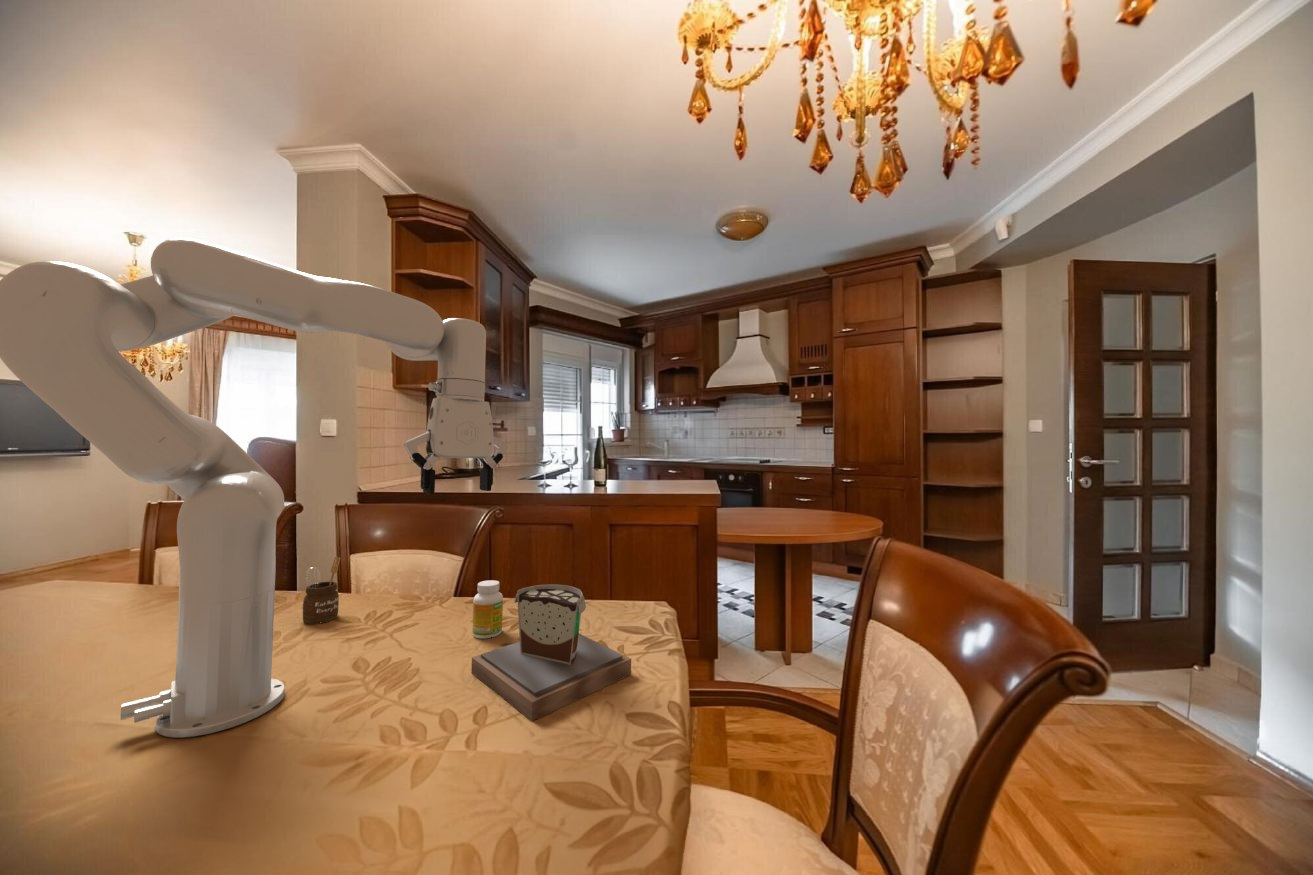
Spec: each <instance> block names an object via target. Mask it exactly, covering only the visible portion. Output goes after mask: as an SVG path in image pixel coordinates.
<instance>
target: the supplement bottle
mask: <svg viewBox="0 0 1313 875" xmlns="http://www.w3.org/2000/svg"><path fill="white" fill-rule="evenodd" d="M499 590H500V581H499V580H493V579H492V580H491V579H490V580H483V581H479V582H478V583H477V590H476V591H477V594H475V596H474V597H473V602H472V604H473V605H472V607H473V608H472V630H471V631H472V636H473V637H475V638H476V639H482V640H483V639H491V637H492V638H495V637H498V636H499V635H500V634H502V632H503V614H504V613H503V609H504V608H503V607H504V605H503V604H504V602H503V601H504V596H503V593H501V592H500V591H499Z"/></svg>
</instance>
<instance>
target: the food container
mask: <svg viewBox="0 0 1313 875" xmlns="http://www.w3.org/2000/svg"><path fill="white" fill-rule="evenodd" d="M516 603H517V613H518V630H519V631H518V632H519V642H520V652H521V654H524V655H528V656H533V657H537V658H542V659H546V660H551V661H555V662H560V663H564V664H569V665H571V664H572V663H573V662H574V661H575V658H576V652H577V643H578V635H579V634H580V633H579V632H580V625H581V624H580V623H581V617H582V614H583V613H584V612H585V610H586V608H587V606H586V600H585V596H584V595H583V592H582V591H581V589H580V588H577V587H574V586H571V585H567V584H566V585H565V584H538V585H531V586H526V587H523V588H520V589H517V591H516V594H515V598H514V604H516Z"/></svg>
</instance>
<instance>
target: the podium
mask: <svg viewBox="0 0 1313 875" xmlns="http://www.w3.org/2000/svg"><path fill="white" fill-rule="evenodd" d="M470 671H471V672H470V673H471V674H472V675H473V676H474V677H475V678H477V679H478V680H479V681H481V682H482V683H483V684H484V685H486V686H487V687H488V688H489V689H491V691H493V692H494V693H495V694H497V695H498V696H499V697H500V698H502V699H503V700H504V701H506V702H507V703H508V704H509V705H511V706H512V707H513V708H515V710H517V711H518V712H519V713H521V714H522V715H523V716H524V717H526V718H527V719H528V720H530V721H531V722H533V721H536V720H537V719H540V718H542V717H544V716H546V715H549V714H550V713H553V712H554V711H557V710H558V709H560V708H563V707H566V706H567V705H570V704H572V703H573V702H576V701H578V700H581V699H582V698H584V697H586V696H587V697H588V695H591V694H593V693H595V692H597V691H599V690H602V689H604V688H605V686H606V687H607V685H608V686H610V685H612V684H614V683H616V682H618V681H620V680H622V679H621V678H623V677H625V676H627V675H629V674H631V675H632V658H630V657H628V656H626V655H625V654H622V653H620V652H619V651H616V650H614V649H611V648H610V647H608V646H605V645H604V644H602V643H600V642H598V641H596V640H593V639H591V638H589V637H588V636H585V635H583V634H581V633H579V635H578V643H577V652H576V658H575V661H574V662H573V663H572V664H571V665H569V664H564V663H560V662H555V661H551V660H546V659H542V658H537V657H533V656H528V655H524V654H521V652H520V641H518V642H515V643H511V644H508V645H504V646H502V647H499V648H495V649H493V650H490V651H486V652H484V653H481V654H478V655H475V656H472V657H471V669H470ZM629 676H630V675H629ZM627 677H628V676H627ZM625 678H626V677H625ZM619 679H620V680H619ZM623 679H624V678H623ZM615 681H616V682H615ZM613 682H614V683H613ZM611 683H612V684H611ZM592 692H593V693H592Z"/></svg>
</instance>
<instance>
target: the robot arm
mask: <svg viewBox="0 0 1313 875" xmlns="http://www.w3.org/2000/svg"><path fill="white" fill-rule="evenodd" d="M150 270H151V275H149V276H145V277H142V278H138V279H135V280H131V281H128V282H124V283H118V282H117V281H115V280H114V279H112V278H110V277H109V276H107V275H105V274H102V273H100V272H99V271H96V270H94V269H92V268H89V267H86V266H83V265H78V264H75V263H70V262H64V261H56V260H55V261H54V260H42V261H35V262H30V263H27V264H23V265H20V266H19V267H17V268H14V269H13V270H11V271H10V272H8V273H7V274H6V275H5V276H3V277H2V278H1V279H0V359H1V361H2V362H3V363H4V365H5V366H6V367H7V368H8V369H9V371H10V372H11V373H12V374H13V375H14V376H15V377H16V378H18V380H19V381H20V382H21V383H22V384H24V386H26V387H27V388H28V389H29V390H31V392H32V393H34V394H35V395H36V396H37V397H38V398H39V399H41V400H42V401H43V402H44V403H45V404H46V405H48V406H49V407H50V408H51V409H52V410H54V412H56V413H57V414H58V415H59V416H60V417H61V418H62V419H63V420H64V421H65V422H66V423H68V425H70V427H72V428H73V430H75V431H76V432H78V433H79V434H80V435H81V436H82V437H84V438H85V439H86V440H87V441H88V442H90V443H91V444H92V445H93V446H94V447H95V448H96V449H97V450H98V451H100V453H102V454H103V455H104V456H106V458H108V460H110V461H111V462H112V463H113V464H114V465H115V466H116V467H117V468H118V469H120V470H121V472H123V473H124V474H125V475H128V477H129V478H132V479H134V480H136V481H139V482H144V483H147V484H153V485H158V484H159V485H166V486H167V487H168V488H170V489H171V490H172V491H173V492H174V493H175V494H177V495H178V496H179V497H180V498H181V499H182V500H184V501H183V502H182V504H181V506H180V508H179V511H178V515H177V521H176V536H177V537H176V538H177V548H178V560H179V563H178V564H179V574H178V575H179V580H178V581H179V584H178V614H177V615H178V616H177V634H176V635H177V636H176V637H177V638H176V660H175V680H172V681H171V687H170V688H167V689H165V690H161V691H159V694H157V695H152V696H148V697H144V698H143V697H142V698H137V699H134V700H130V701H126V702H122V703H121V706H120V708H121V709H120V721H123V720H127V719H130V718H134V720H133V722H134V723H139V722H142V721H145V720H149V719H150V718H151V719H152V718H155V717H156V718H155V719H156V720H155V731H156V733H158V735H161V736H163V737H168V738H173V739H174V738H175V739H176V738H192V737H198V736H205V735H210V734H214V733H218V732H222V731H225V730H228V729H232V728H234V727H237V726H240V725H243V724H245V723H248V722H249V721H251V720H255V719H257V718H258V717H261V716H262V715H264V714H266V713H268V712H269V711H270V710H272V709H273V708H274V707H276V706H277V705H278V704H279V703H280V702H282V700H283V699H284V697H285V694H286V685H285V683H284V682H283V681H281V680H279V679H276V678H272V672H273V671H272V670H273V669H272V668H273V642H274V622H275V621H274V619H275V617H274V616H275V598H276V597H275V592H276V590H275V589H276V565H277V564H276V559H277V558H276V557H277V556H276V549H277V548H276V544H277V543H276V542H277V541H276V540H277V538H276V537H277V535H276V534H277V520H278V518H279V517H280V516H281V514H282V511H283V510H284V505H285V495H284V491H283V489H282V488H281V486H280V484H279V483H278V482H277V481H276V480H275V479H274V477H272V476H271V475H270V474H269V473H268V472H267V471H266V470H265V469H264V468H263V467H262V466H261V465H260V464H259V463H258V462H257V461H255V459H254V458H252V457H251V456H250V455H249V454H248V453H247V452H246V451H245V450H244V449H243V448H242V447H241V446H240V445H239V444H238V443H237V442H236V441H235V440H233V439H232V438H231V437H230V436H229V435H228V433H226V432H225V431H224V430H223V429H221V428H220V427H219V426H217V425H216V424H215V423H213V422H212V421H210V420H208V419H205V418H204V417H200V416H198V415H194V414H189V413H188V412H185V411H184V410H183V409H181V408H180V407H179V406H178V405H176V403H174V402H173V401H172V400H171V399H170V398H169V397H168V396H166V395H165V394H164V393H163V392H162V390H160V389H159V388H157V387H156V386H155V385H154V383H153V382H152V381H151V379H149V378H148V377H147V376H146V375H145V374H144V373H142V371H140V370H139V369H138V368H137V367H136V366H134V365H133V363H132V362H130V361H128V360H127V358H125V357H124V356H123V354H121V353H120V352H128V351H129V352H130V351H131V352H132V351H135V350H141V349H145V348H147V347H151V346H154V345H156V344H160V343H163V342H166V341H169V340H172V339H174V338H178V337H180V336H185V335H186V334H189V333H192V332H195V331H198V330H201V329H202V330H203V329H204V328H207V327H210V326H212V325H216V324H218V323H220V322H222V321H225V320H228V319H230V318H232V317H234V316H237V317H242V318H246V319H250V320H253V321H257V322H261V323H263V324H264V323H265V324H269V325H272V326H275V327H279V328H283V329H286V330H289V331H293V332H297V333H298V332H299V333H306V334H316V333H324V332H326V333H327V332H335V333H336V332H338V333H339V332H340V333H346V334H353V335H358V336H362V337H366V338H371V339H374V340H377V341H382V342H385V343H386V345H387V347H388V349H389V350H390V351H391V352H392V353H393V354H394V355H395V356H396V357H399V358H400V359H403V360H406V361H407V360H408V361H416V362H417V361H424V362H425V361H437V379H436V380H435V381H434V382H429V383H428V391H433V392H434V393H435V396H436V397H433V399H432V402H431V406H430V409H429V414H428V418H427V419H428V420H427V424H426V426H427V427H426V432H423V433H422V434H420V435H417V436H415V437H413V438H410V439H408V440H406V441H405V442H404V443H403V446H404V448H405V451H406V452H407V454H408V455H409V459H410V460H411V461H412V462H413V463H414V464H415V465H416V466H417V467H418V469H420V489H421V490H422V493H423V494H426V495H434V494H435V493H436V492H435V491H436V470H435V469H433V467H434V466H435V465H436V464H437V462H439V460H440V459H441V458H445V459H477V460H478V461H479V463H480V464H481V465H482V467H480V468H479V490H481V491H483V492H484V491H485V492H491V491H492V486H493V484H494V469H495V468H496V467H497V465H498V464H499V463H501V461H502V460H503V458H504V455H505V453H506V451H507V449H508V448H509V447H508V446H509V445H508V444H507V443H506V442H504V441H503V440H502V439H499V438H498V437H496V436H494V424H493V418H492V410H491V406H490V402H489V401H485V390H486V389H485V388H486V387H485V386H486V385H485V384H486V383H485V382H486V356H487V355H486V352H487V351H486V350H487V330H486V328H485V326H484V325H483V324H482V323H480V322H478V321H476V320H473V319H468V318H460V317H459V318H458V317H451V318H447V319H446V318H445V319H442V317H441V316H440V315H439V313H438V312H437V311H436V310H435V309H434V308H432V307H431V306H429V305H428V304H426V303H424V302H422V301H419V300H417V299H415V298H412V297H409V296H405V295H403V294H400V293H397V292H393V291H391V290H387V289H384V288H381V287H378V286H374V285H371V284H366V283H363V282H362V283H361V282H357V281H349V280H345V279H344V280H342V279H338V278H334V277H333V278H332V277H325V276H317V275H313V274H309V273H306V272H302V271H299V270H296V269H293V268H291V267H287V266H283V265H280V264H277V263H273V262H271V261H268V260H265V259H262V258H258V257H256V256H252V255H249V254H246V253H242V252H239V251H237V250H233V249H230V248H227V247H225V246H221V245H218V244H215V243H212V242H208V241H204V240H200V239H196V238H191V237H175V238H174V237H173V238H169V239H167V240H165V241H162V242H160V243H159V244H158V245H157V246H156V247H155V248H154V250H153V252H152V254H151V258H150ZM422 444H425V453H426V455H425V456H424V455H422V454H421V453H420V452H419V449H418V447H419V446H421V445H422ZM494 447H495V452H494Z"/></svg>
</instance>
